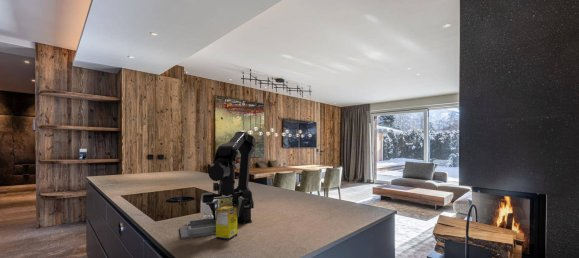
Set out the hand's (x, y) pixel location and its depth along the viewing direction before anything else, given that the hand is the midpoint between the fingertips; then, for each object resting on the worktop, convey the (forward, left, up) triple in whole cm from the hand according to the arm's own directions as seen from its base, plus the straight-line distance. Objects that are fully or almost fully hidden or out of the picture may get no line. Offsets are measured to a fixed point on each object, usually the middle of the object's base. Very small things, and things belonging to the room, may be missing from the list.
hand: (226, 218), depth 101 cm
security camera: (+3, -27, -7) cm, 28 cm away
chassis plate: (+7, -12, -7) cm, 16 cm away
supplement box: (0, 0, -7) cm, 7 cm away
